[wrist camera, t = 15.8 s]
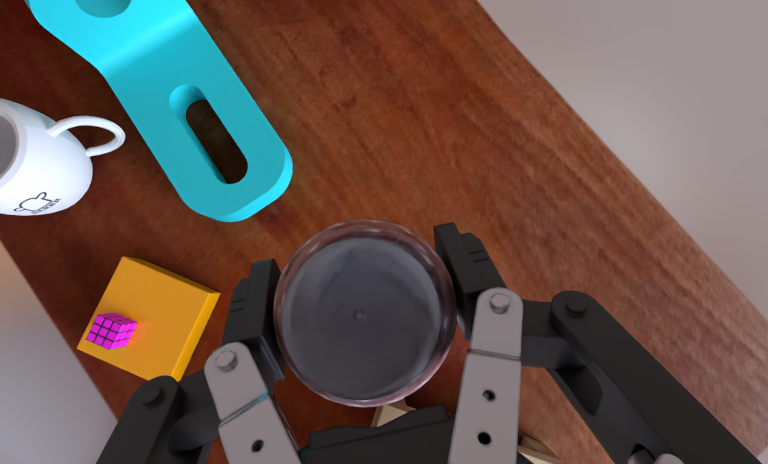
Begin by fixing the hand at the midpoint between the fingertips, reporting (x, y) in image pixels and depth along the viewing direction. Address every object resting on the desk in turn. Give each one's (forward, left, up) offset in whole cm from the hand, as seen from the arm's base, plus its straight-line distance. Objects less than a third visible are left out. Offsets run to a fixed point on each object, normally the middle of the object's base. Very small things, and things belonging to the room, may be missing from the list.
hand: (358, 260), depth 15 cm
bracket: (+19, -8, -20) cm, 29 cm away
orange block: (+16, +9, -20) cm, 27 cm away
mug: (+28, -1, -20) cm, 34 cm away
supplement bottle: (-1, +1, -6) cm, 7 cm away
